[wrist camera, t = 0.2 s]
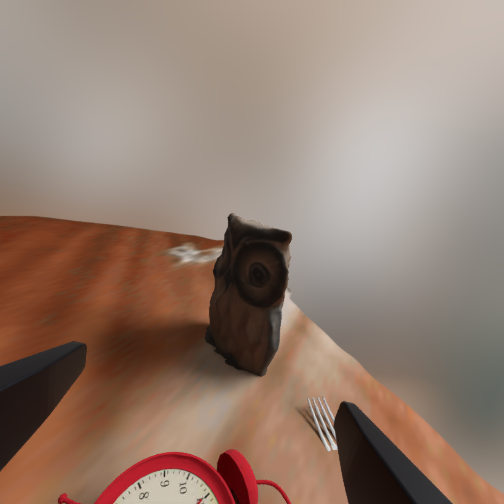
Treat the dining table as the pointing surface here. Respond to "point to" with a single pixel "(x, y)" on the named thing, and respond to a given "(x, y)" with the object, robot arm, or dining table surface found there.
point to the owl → (249, 294)
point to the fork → (323, 423)
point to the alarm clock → (184, 481)
